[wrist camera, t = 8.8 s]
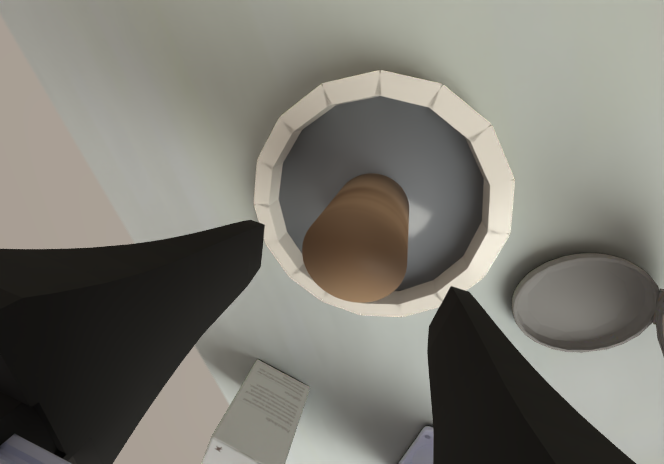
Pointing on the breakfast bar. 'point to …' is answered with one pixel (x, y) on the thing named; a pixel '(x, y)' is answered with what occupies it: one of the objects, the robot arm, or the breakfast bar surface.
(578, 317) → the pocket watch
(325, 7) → the breakfast bar surface
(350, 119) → the round tray
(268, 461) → the skincare box
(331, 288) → the walnut cylinder
